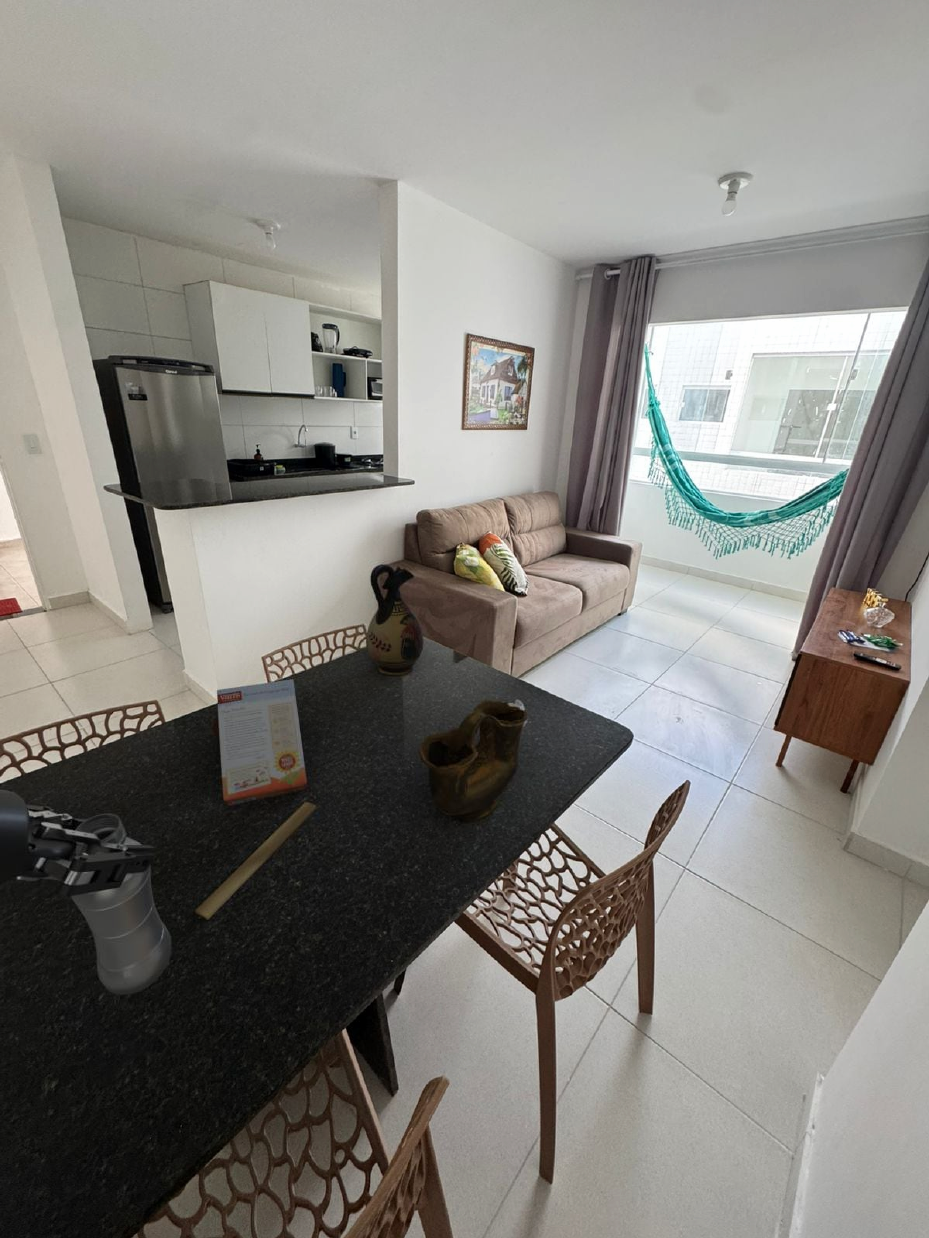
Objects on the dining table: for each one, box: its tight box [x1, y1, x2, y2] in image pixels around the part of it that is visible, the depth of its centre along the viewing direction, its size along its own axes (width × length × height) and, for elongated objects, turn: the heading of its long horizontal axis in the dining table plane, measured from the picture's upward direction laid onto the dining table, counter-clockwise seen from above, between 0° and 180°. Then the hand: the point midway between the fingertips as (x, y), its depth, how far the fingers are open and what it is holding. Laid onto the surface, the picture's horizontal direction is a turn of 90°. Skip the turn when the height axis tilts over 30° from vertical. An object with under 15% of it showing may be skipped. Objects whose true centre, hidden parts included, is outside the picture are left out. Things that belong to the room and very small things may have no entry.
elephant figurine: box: [507, 699, 528, 728], centre depth 119 cm, size 7×8×6 cm
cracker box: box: [216, 678, 308, 807], centre depth 97 cm, size 14×6×21 cm
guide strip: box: [195, 801, 317, 920], centre depth 83 cm, size 2×24×1 cm, turn 156°
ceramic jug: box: [365, 563, 424, 676], centre depth 135 cm, size 17×16×30 cm
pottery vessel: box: [417, 699, 529, 823], centre depth 93 cm, size 25×11×20 cm, turn 140°
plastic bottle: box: [70, 812, 172, 996], centre depth 50 cm, size 6×7×20 cm
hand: (125, 845), depth 48 cm, fingers closed on plastic bottle, 6 cm apart
